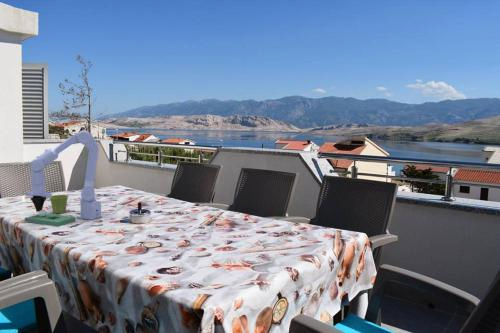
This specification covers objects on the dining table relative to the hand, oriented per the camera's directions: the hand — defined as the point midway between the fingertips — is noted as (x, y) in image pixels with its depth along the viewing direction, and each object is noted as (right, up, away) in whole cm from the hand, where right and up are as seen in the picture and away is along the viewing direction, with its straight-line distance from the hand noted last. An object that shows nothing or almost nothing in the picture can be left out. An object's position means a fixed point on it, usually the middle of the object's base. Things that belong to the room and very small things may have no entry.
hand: (39, 211), depth 193 cm
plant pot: (+2, -3, +17) cm, 18 cm away
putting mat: (+6, -5, -2) cm, 8 cm away
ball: (+2, -1, -1) cm, 3 cm away
